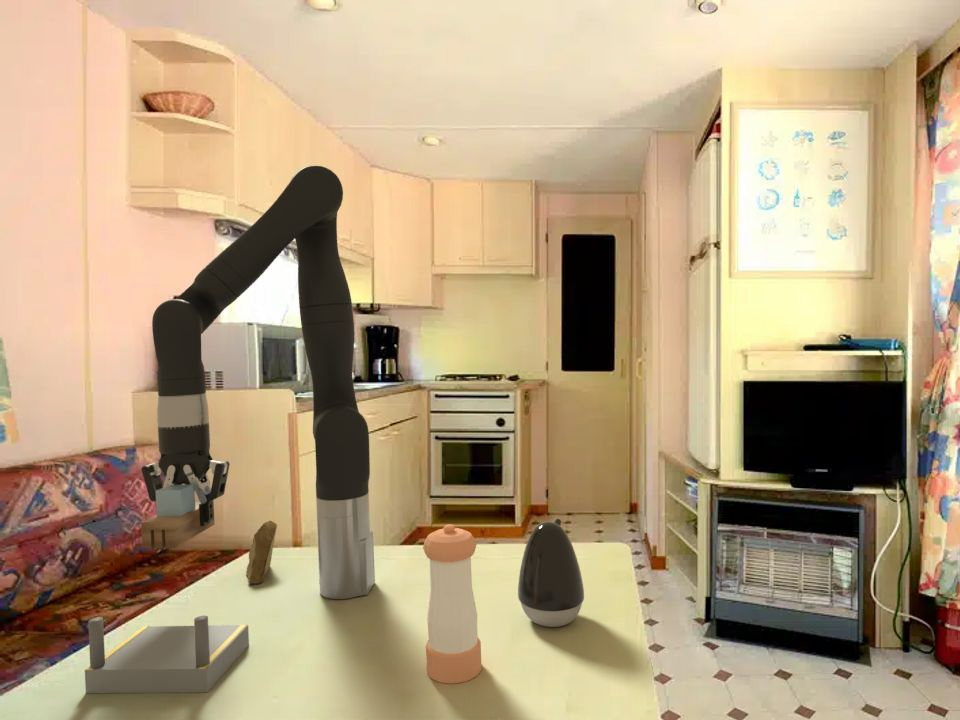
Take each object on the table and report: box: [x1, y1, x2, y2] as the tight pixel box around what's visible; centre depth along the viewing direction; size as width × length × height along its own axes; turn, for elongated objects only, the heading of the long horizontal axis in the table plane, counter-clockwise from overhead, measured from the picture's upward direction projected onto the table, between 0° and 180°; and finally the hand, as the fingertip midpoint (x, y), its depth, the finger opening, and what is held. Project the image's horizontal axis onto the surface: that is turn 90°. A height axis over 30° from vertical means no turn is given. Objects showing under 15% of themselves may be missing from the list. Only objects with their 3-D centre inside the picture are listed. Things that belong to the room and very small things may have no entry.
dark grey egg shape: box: [517, 518, 585, 628], centre depth 92 cm, size 10×10×15 cm
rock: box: [245, 520, 278, 585], centre depth 115 cm, size 11×9×10 cm
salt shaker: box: [422, 523, 483, 684], centre depth 78 cm, size 7×7×19 cm
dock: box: [84, 615, 250, 694], centre depth 81 cm, size 16×12×9 cm
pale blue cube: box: [155, 484, 196, 516], centre depth 93 cm, size 4×4×4 cm
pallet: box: [140, 500, 216, 550], centre depth 94 cm, size 12×5×4 cm, turn 177°
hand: (188, 524), depth 97 cm, fingers closed on pallet, 5 cm apart
